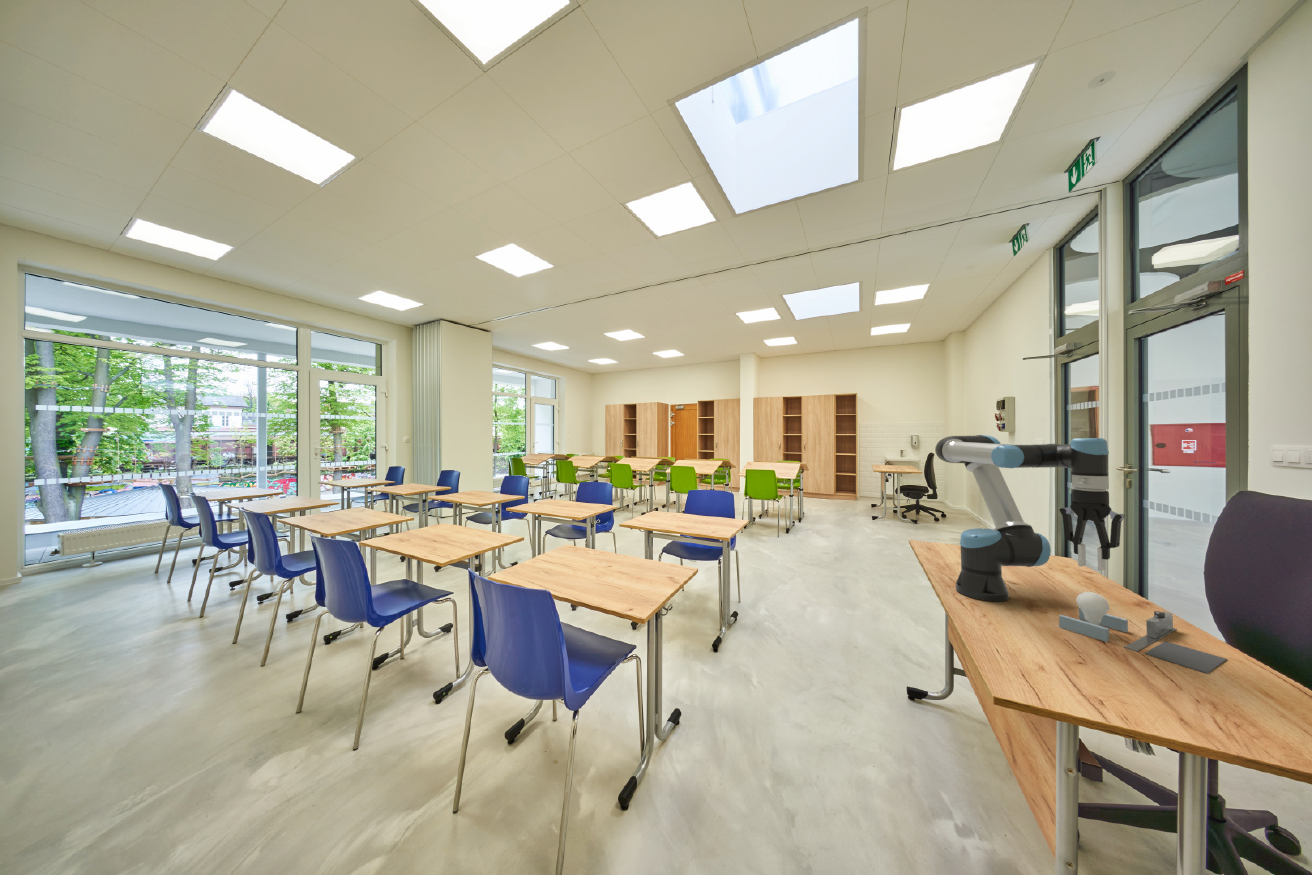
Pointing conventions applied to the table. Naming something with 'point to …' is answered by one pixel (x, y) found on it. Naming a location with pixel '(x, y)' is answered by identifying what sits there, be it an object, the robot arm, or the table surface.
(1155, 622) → the latch bar
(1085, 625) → the channel
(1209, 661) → the mat
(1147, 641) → the track
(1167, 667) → the table surface
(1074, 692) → the table surface
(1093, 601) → the light bulb
